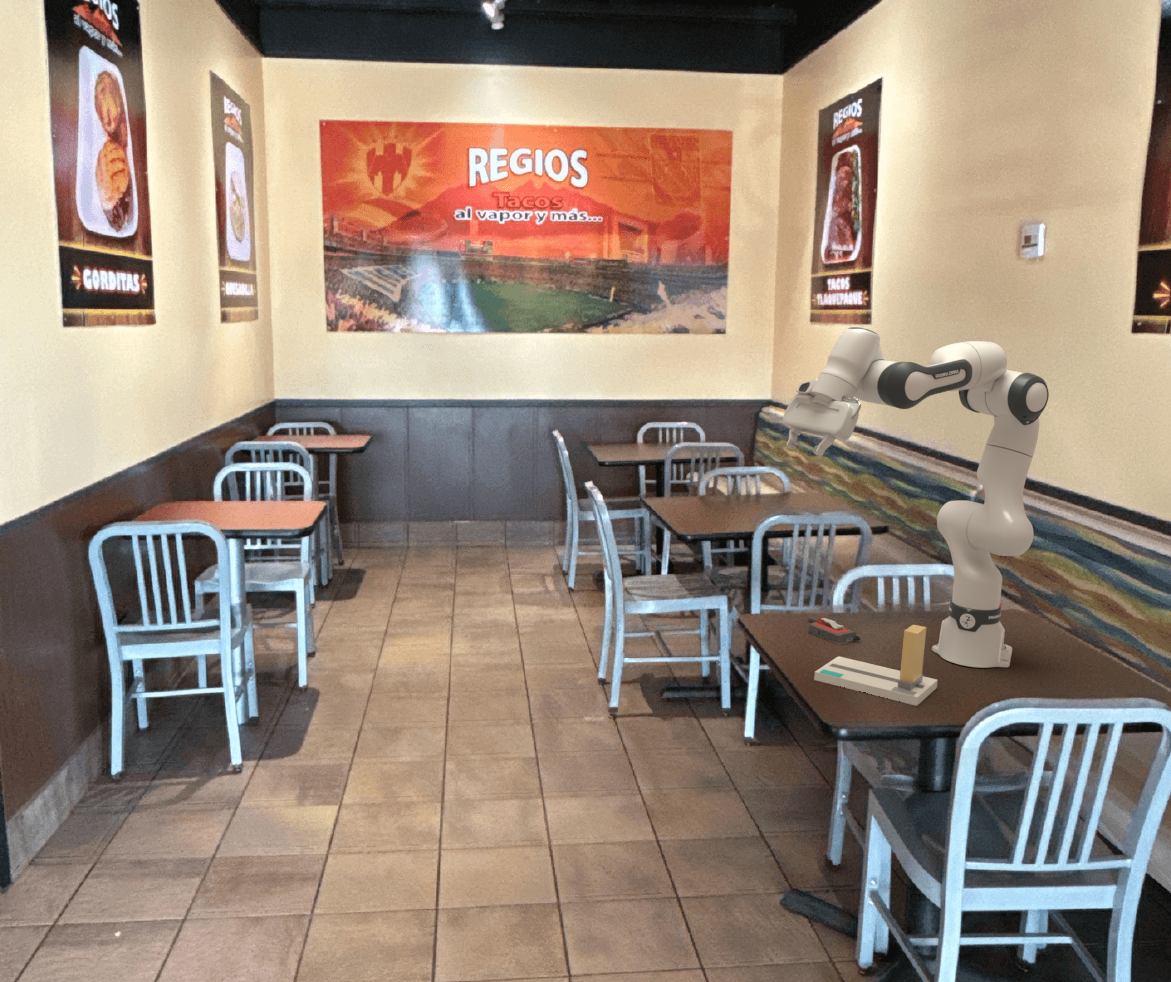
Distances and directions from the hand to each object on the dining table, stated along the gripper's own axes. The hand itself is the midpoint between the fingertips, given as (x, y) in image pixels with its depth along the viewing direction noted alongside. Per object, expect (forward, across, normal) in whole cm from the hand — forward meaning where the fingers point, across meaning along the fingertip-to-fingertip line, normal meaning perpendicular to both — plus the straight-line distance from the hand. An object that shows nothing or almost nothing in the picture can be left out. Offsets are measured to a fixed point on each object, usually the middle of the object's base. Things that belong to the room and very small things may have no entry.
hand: (803, 451), depth 226 cm
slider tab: (+34, -12, -47) cm, 59 cm away
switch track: (+38, -5, -45) cm, 59 cm away
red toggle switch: (+32, +29, -56) cm, 71 cm away
